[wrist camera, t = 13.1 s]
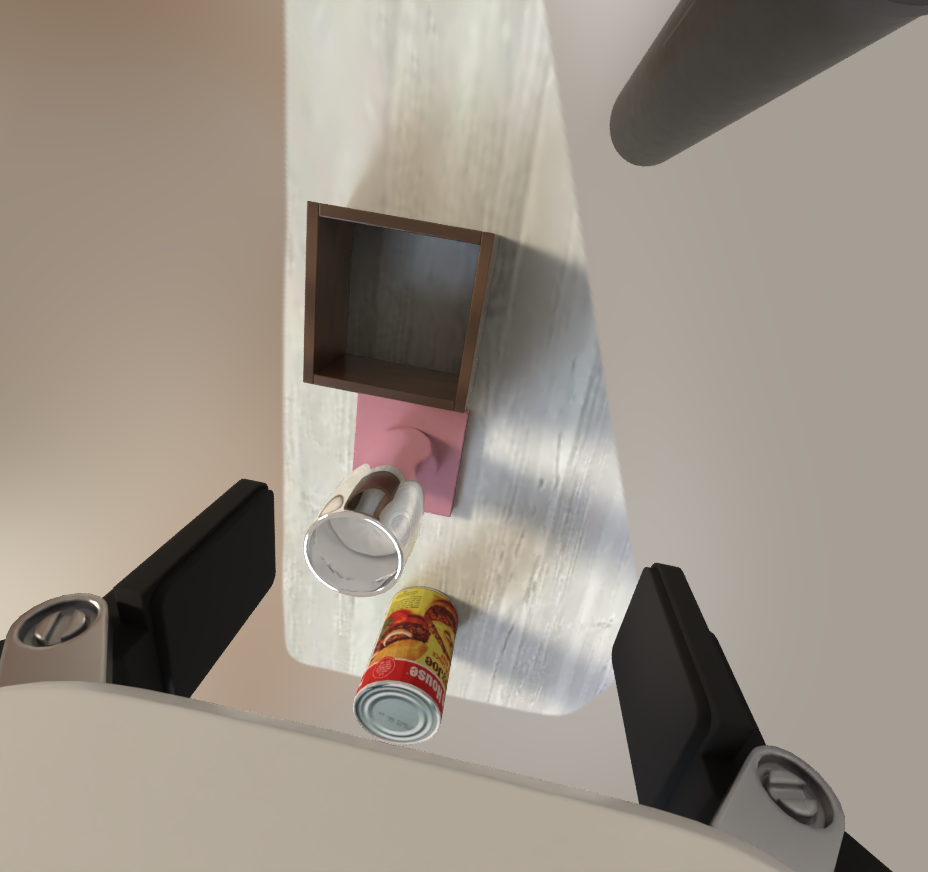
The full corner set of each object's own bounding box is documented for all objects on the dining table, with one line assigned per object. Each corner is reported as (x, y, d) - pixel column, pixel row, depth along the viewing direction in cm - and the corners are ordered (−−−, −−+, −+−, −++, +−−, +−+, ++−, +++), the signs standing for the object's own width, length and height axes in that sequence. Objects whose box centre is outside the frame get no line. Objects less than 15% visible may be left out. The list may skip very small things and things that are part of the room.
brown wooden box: (344, 208, 37) (306, 200, 30) (500, 235, 36) (494, 233, 30) (336, 360, 41) (302, 382, 35) (473, 386, 41) (464, 413, 34)
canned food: (464, 639, 52) (449, 744, 41) (398, 643, 54) (366, 746, 43) (450, 583, 50) (429, 680, 39) (380, 589, 51) (341, 684, 40)
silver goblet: (358, 432, 43) (281, 522, 29) (428, 413, 41) (382, 497, 28) (386, 496, 45) (327, 608, 31) (454, 480, 44) (422, 590, 30)
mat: (361, 388, 42) (357, 391, 41) (469, 409, 42) (468, 413, 41) (353, 492, 47) (350, 497, 46) (451, 511, 46) (450, 517, 45)
